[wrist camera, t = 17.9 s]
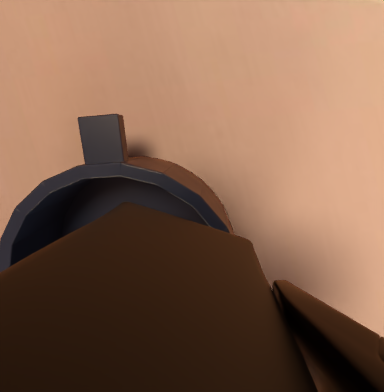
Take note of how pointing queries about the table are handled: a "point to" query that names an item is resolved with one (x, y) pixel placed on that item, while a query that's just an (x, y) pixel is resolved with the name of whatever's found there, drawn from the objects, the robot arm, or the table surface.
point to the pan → (105, 192)
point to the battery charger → (145, 312)
